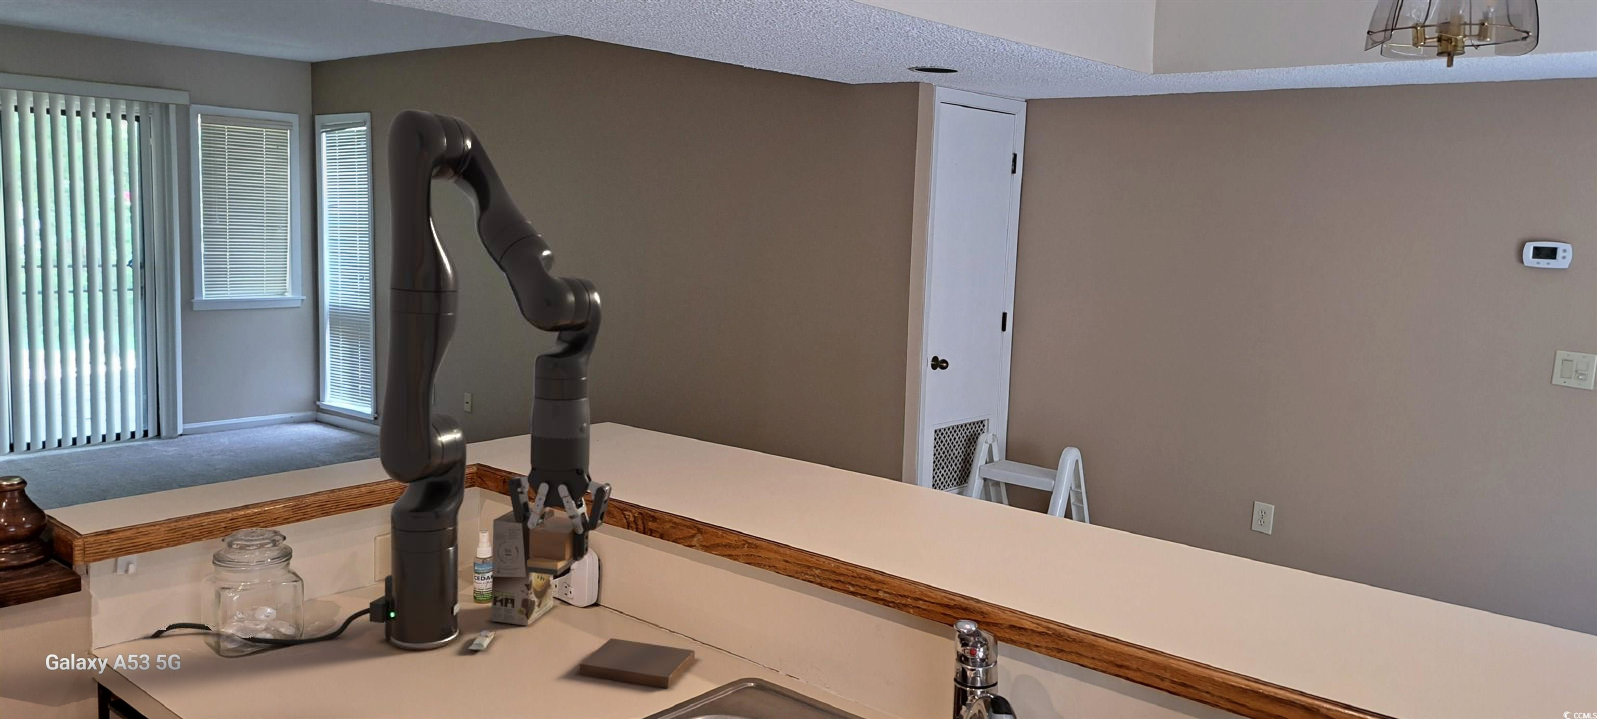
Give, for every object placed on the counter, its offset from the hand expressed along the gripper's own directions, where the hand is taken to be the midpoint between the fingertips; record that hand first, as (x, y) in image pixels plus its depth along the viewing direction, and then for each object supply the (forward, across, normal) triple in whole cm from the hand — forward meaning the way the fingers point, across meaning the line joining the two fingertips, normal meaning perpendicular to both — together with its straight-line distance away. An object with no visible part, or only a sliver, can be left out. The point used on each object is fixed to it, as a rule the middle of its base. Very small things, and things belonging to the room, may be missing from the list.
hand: (558, 556), depth 140 cm
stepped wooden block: (+1, 0, 0) cm, 1 cm away
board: (+17, -9, -8) cm, 21 cm away
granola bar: (+17, +15, -9) cm, 25 cm away
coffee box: (+18, +16, -22) cm, 32 cm away
